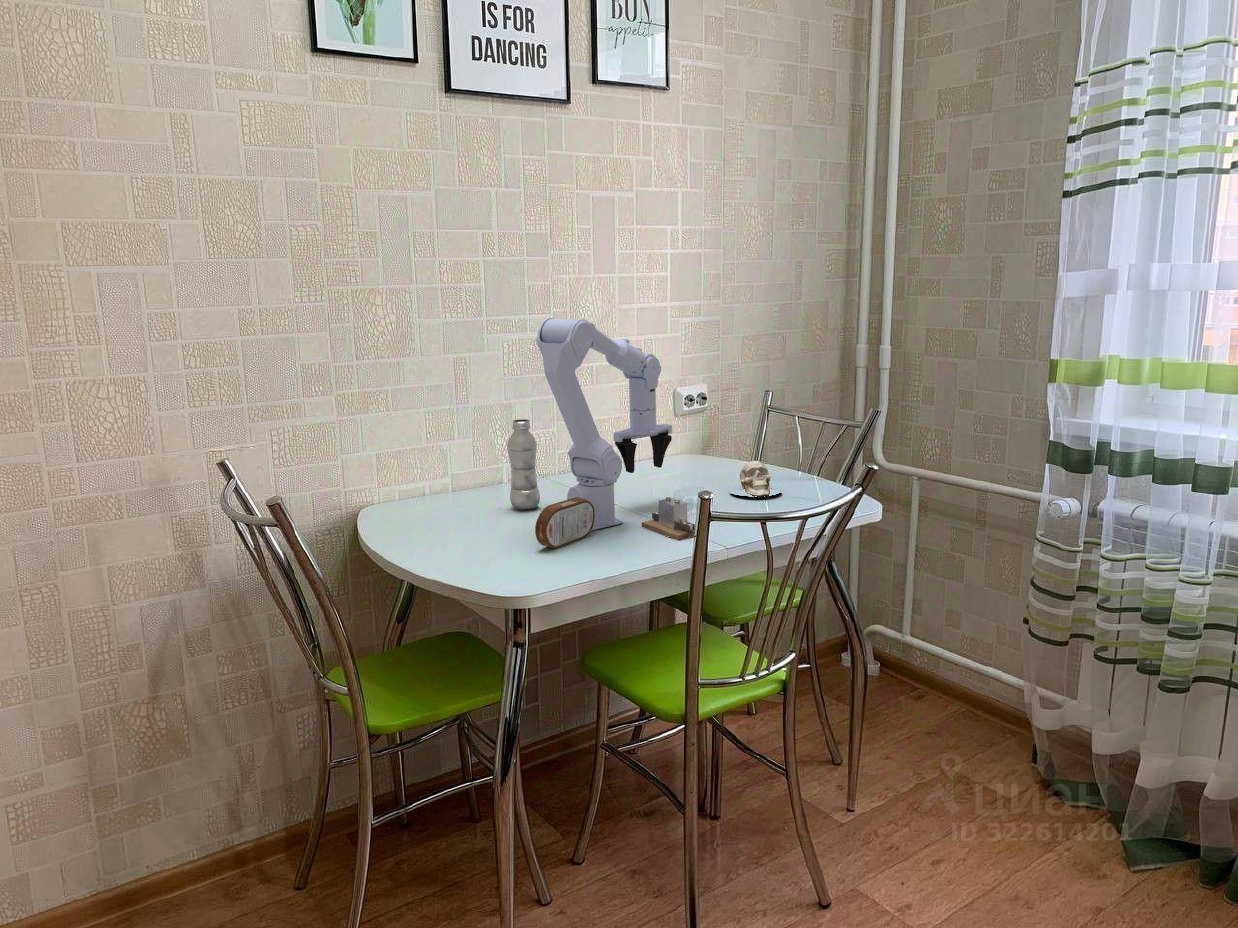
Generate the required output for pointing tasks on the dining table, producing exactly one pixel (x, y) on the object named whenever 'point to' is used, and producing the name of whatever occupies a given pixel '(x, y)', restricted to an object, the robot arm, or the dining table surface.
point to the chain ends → (683, 525)
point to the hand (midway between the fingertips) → (644, 469)
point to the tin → (564, 522)
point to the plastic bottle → (523, 466)
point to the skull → (755, 479)
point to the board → (667, 530)
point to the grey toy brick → (672, 513)
